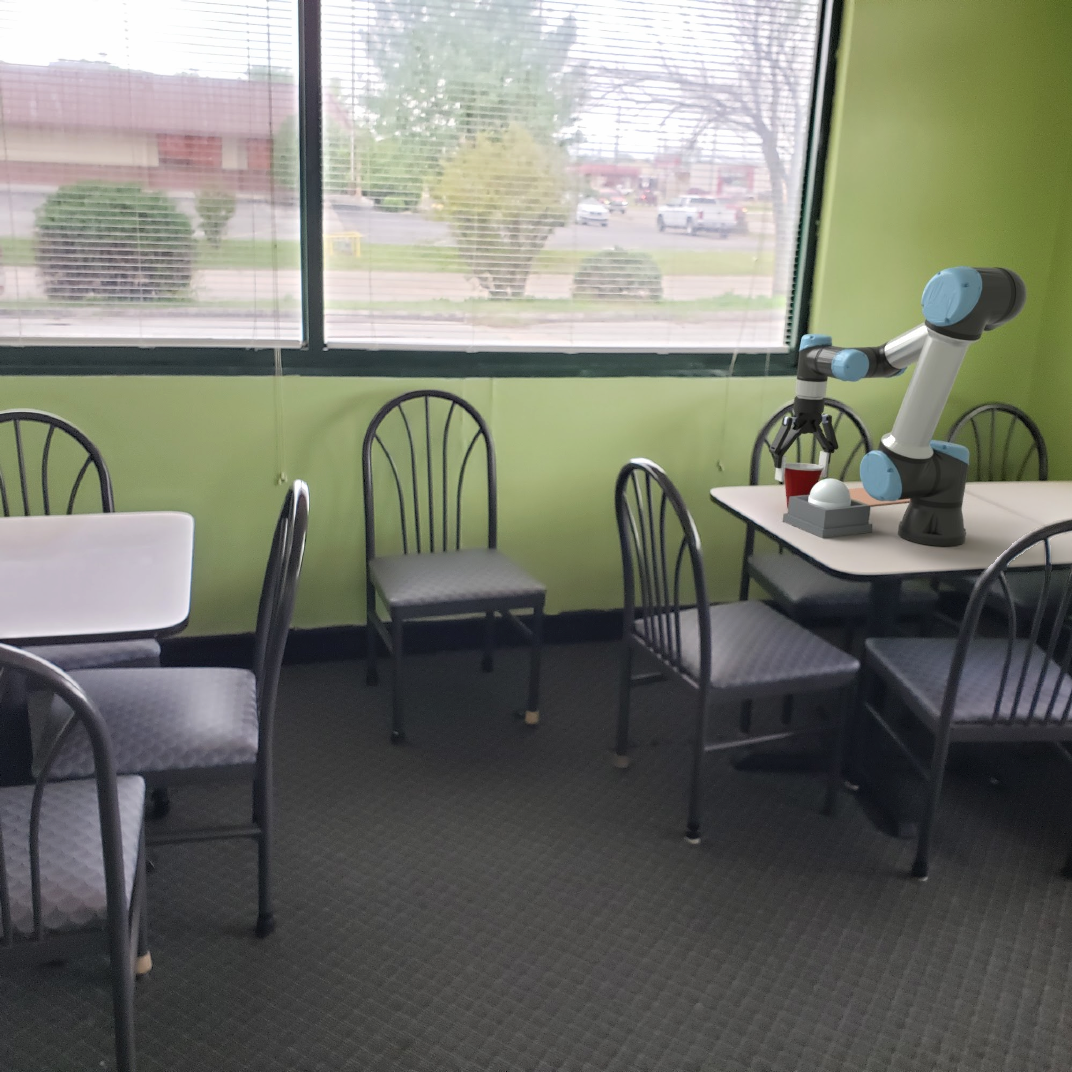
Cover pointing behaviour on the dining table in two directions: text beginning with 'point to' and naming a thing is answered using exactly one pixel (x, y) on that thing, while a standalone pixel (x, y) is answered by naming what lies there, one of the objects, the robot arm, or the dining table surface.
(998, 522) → the dining table surface
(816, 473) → the plastic cup
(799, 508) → the dome housing
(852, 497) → the mat
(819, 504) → the dome
